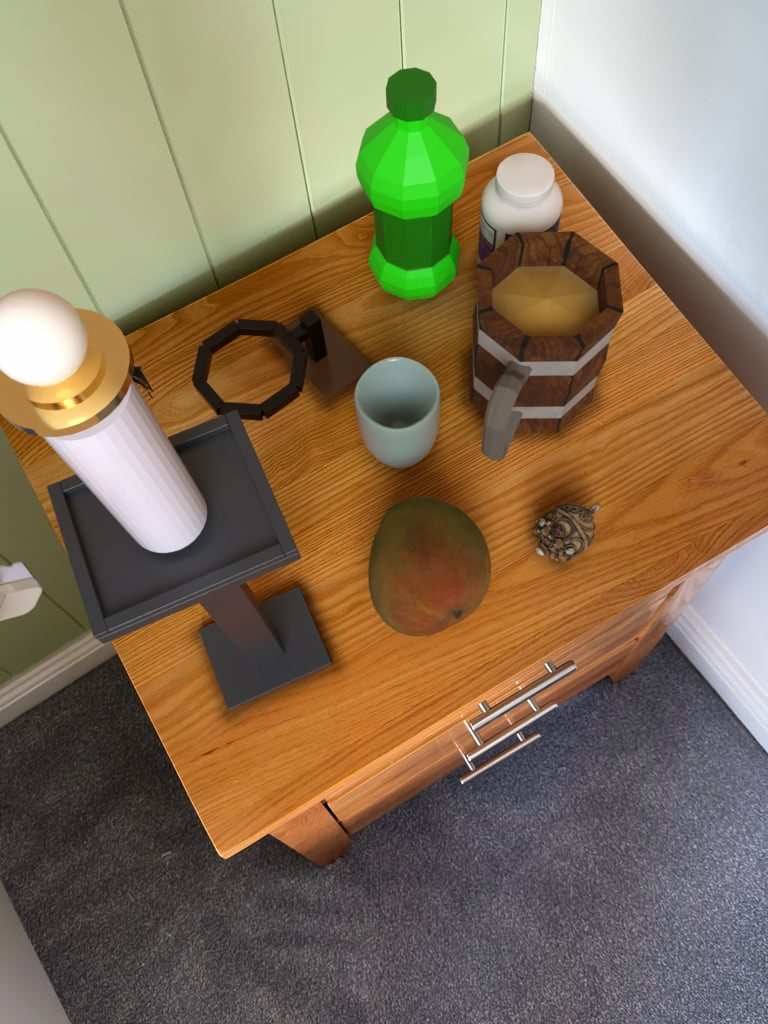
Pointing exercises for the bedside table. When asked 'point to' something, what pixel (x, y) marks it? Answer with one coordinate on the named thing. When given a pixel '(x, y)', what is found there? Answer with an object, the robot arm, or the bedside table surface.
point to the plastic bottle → (413, 188)
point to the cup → (398, 411)
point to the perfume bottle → (95, 415)
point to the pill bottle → (518, 201)
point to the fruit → (427, 566)
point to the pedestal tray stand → (201, 567)
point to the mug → (540, 333)
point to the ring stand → (306, 349)
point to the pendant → (565, 531)
